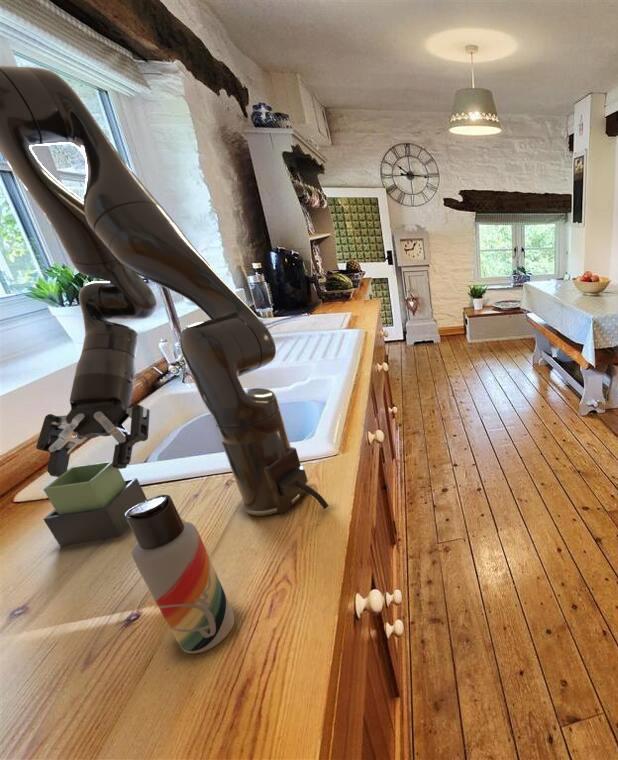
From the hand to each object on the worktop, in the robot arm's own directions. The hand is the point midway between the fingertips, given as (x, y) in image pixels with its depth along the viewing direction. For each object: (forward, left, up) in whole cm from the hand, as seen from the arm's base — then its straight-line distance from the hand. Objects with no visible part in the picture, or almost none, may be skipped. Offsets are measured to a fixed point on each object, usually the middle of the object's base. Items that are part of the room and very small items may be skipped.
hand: (88, 472), depth 66 cm
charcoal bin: (-1, +1, -10) cm, 10 cm away
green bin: (-1, +1, -9) cm, 10 cm away
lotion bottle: (-35, +12, -10) cm, 38 cm away
